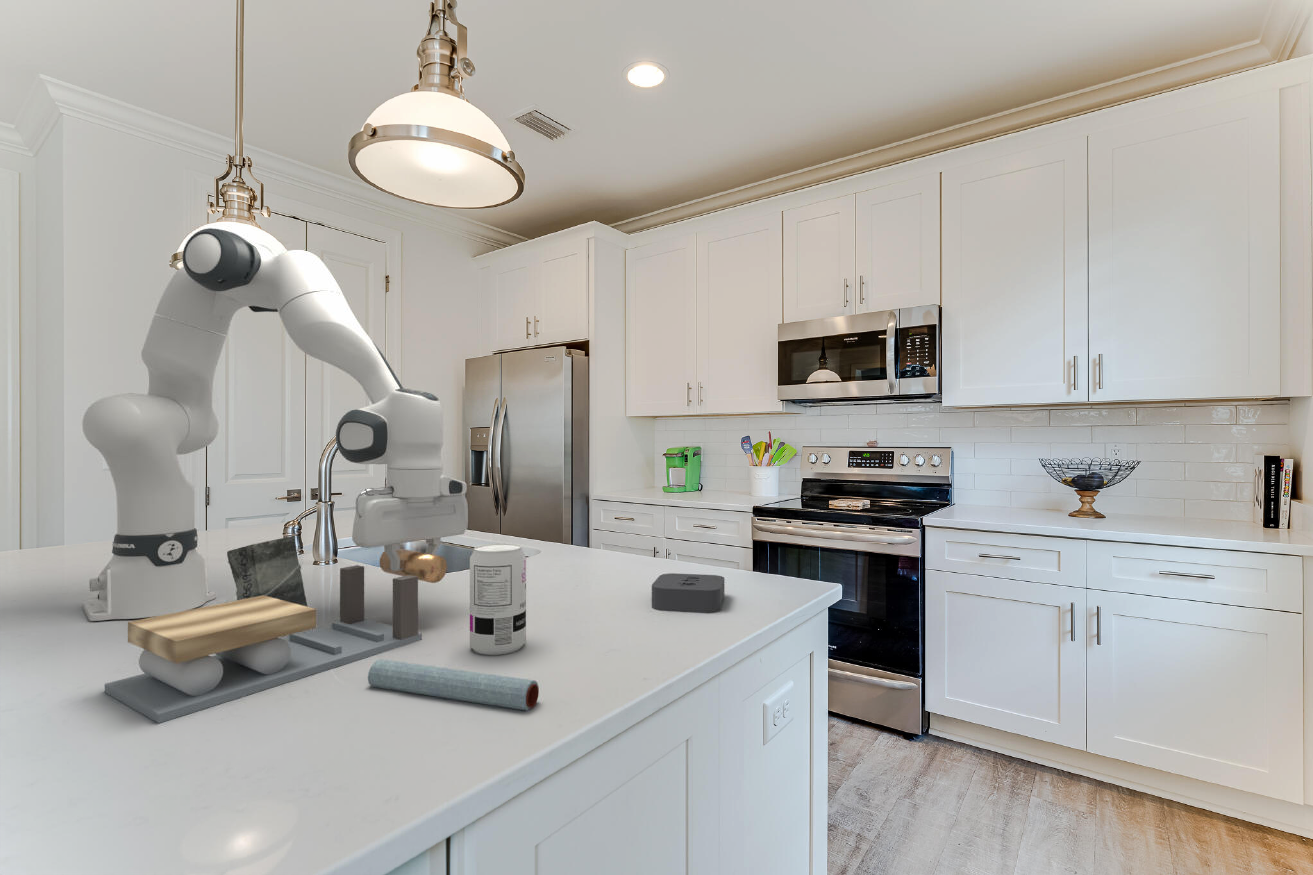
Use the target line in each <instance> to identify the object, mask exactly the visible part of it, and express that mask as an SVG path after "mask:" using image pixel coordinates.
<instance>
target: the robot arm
mask: <svg viewBox="0 0 1313 875" xmlns="http://www.w3.org/2000/svg"><path fill="white" fill-rule="evenodd" d="M181 256H182V258H181V259H182V265H183V266H182V267H180V268H179V269H178V270H177V271H175V274H174V275H173V276H172V278H171V279H170V281H169V283H168V284H167V286H166V288H165V289H164V291H163V293H162V296H161V298H160V299H159V302H158V305H157V306H156V309H155V311H154V314H153V317H152V320H151V322H150V323H151V324H150V327H149V329H148V333H147V335H146V337H145V340H144V344H143V347H142V348H141V349H142V350H141V353H140V354H141V360H142V362H143V363H144V365H145V366H146V368H147V369H146V370H147V371H148V391H147V394H142V393H133V392H132V393H131V392H130V393H121V394H116V395H111V396H107V397H105V396H104V397H102V398H100V399H98V400H95V401H94V402H93V403H92V404H91V405H89V407H88V408H87V409H86V411H85V412H84V415H83V419H82V425H81V426H82V431H83V434H84V436H85V438H86V440H87V442H89V444H90V445H92V447H93V448H95V449H96V450H98V452H100V454H101V455H102V457H103V458H104V460H105V462H106V465H107V467H108V469H109V471H110V474H111V477H112V481H113V484H114V487H115V495H116V518H117V523H116V525H117V526H116V527H117V533H116V534H114V538H113V541H112V550H111V553H112V554H113V555H112V558H111V559H110V560H109V562H108V563H107V564H106V565H105V567H104V568H103V569H102V570H101V572H100V573H99V575H98V576H97V577H95V578H90V579H89V592H98V593H97V597H94V598H90V599H86V600H84V601H83V602H82V609H83V610H84V613H85V615H86V617H87V618H88V621H90V622H98V621H99V622H101V621H107V620H109V621H110V620H130V619H134V620H135V619H146V618H151V617H156V616H161V615H166V614H171V613H176V612H181V611H186V610H191V609H197V608H200V607H201V606H203V605H204V604H205V603H206V602H208V601H212V600H215V599H216V598H217V596H216V592H214V591H209V589H208V588H209V586H208V575H207V563H206V558H205V556H203V555H202V554H201V553H199V552H198V551H197V550H196V548H198V540H199V535H198V529H196V528H195V489H194V486H193V484H192V483H191V482H190V481H189V480H187V478H186V476H185V475H184V473H183V471H182V469H181V465H180V462H179V460H178V459H179V458H178V456H179V455H180V456H181V455H186V454H190V453H193V452H197V451H200V450H202V449H204V448H206V447H208V446H209V445H210V444H212V443H213V442H214V441H215V439H216V438H217V436H218V433H219V420H218V417H217V415H216V413H215V412H214V409H213V387H214V386H213V385H214V377H215V372H216V369H217V366H218V363H219V359H220V357H221V354H222V350H223V347H224V344H225V341H226V338H227V335H228V332H229V329H230V325H231V322H232V320H233V317H234V315H235V313H236V312H238V311H239V310H241V309H243V308H246V307H248V308H249V309H250V311H252V312H253V313H264V312H266V313H267V312H269V313H271V312H272V313H278V315H279V317H280V320H281V322H282V324H283V327H284V329H285V332H287V335H288V337H289V338H290V339H291V340H292V341H293V343H294V344H295V345H296V347H297V348H298V349H299V350H301V351H302V352H303V353H305V354H306V355H308V356H310V357H312V358H314V359H316V360H319V361H322V362H324V363H327V364H329V365H331V366H333V367H334V368H335V367H336V368H337V369H340V370H342V371H343V372H345V373H346V374H348V375H349V376H351V377H352V378H353V379H355V381H356V382H357V383H359V384H360V386H361V387H362V389H363V390H364V392H365V395H366V396H367V397H368V399H369V401H370V403H371V404H370V405H368V406H365V407H361V408H357V409H352V410H350V411H348V412H345V414H344V415H343V416H342V417H341V418H340V420H339V421H338V423H337V426H336V431H335V443H336V446H337V450H338V452H339V453H340V454H341V456H342V457H343V458H344V459H345V460H346V461H347V462H351V463H355V464H358V465H386V479H385V480H386V482H385V483H386V486H384V487H383V486H382V487H377V488H374V487H368V488H365V489H364V490H363V491H361V492H360V493H359V494H358V495H357V496H356V498H355V515H354V518H353V525H352V535H351V538H352V542H353V544H354V545H355V546H357V547H359V548H364V549H365V548H366V549H371V548H378V547H384V551H385V552H386V554H387V555H388V557H389V559H390V560H391V566H390V568H391V570H392V571H400V570H404V568H405V566H404V564H405V560H404V559H400V557H399V555H398V553H397V551H396V550H400V549H401V548H400V546H401V544H405V543H413V542H420V541H425V543H426V544H428V545H427V547H426V549H425V551H424V553H427V554H432V555H436V553H437V552H438V549H439V547H440V546H441V538H447V537H455V536H462V535H464V534H465V533H466V530H467V529H468V525H469V509H468V501H467V498H466V496H464V495H465V494H466V493H467V490H468V488H467V486H468V485H467V483H466V482H465V481H462V480H459V479H456V478H454V477H450V476H447V475H445V474H444V473H443V469H444V468H443V467H444V466H443V462H442V458H441V453H442V447H443V445H444V414H443V409H442V408H443V407H442V404H441V402H440V399H439V398H438V397H437V395H434V394H432V393H431V392H430V393H429V392H426V391H421V390H414V389H408V388H404V387H403V385H402V384H401V383H400V381H399V378H398V377H397V376H396V374H395V372H394V370H393V369H392V367H391V366H390V364H389V362H388V360H387V359H386V358H385V356H384V354H383V353H382V351H381V350H380V349H379V347H378V346H377V345H376V343H375V342H374V341H373V340H372V339H371V338H370V336H369V335H368V334H367V332H366V331H365V330H364V328H363V327H362V325H361V324H360V323H359V321H358V320H357V318H356V316H355V315H354V314H355V313H353V311H352V309H351V308H350V305H349V304H348V302H347V299H346V297H345V295H344V294H343V292H342V289H341V288H340V286H339V284H338V282H337V281H336V279H335V278H334V276H333V274H332V273H331V271H330V270H329V269H328V267H327V266H326V264H325V263H324V262H323V261H322V260H321V259H320V258H319V256H317V255H316V254H314V253H312V252H310V251H306V250H302V249H291V250H287V251H284V252H281V253H278V252H276V251H274V250H272V249H271V248H269V247H268V246H265V245H264V244H259V243H257V242H254V241H252V240H249V239H247V238H244V237H241V236H240V235H238V234H236V233H235V232H232V231H228V230H225V229H221V228H220V229H219V228H211V227H210V228H209V227H208V228H204V229H201V230H198V231H197V232H195V233H193V234H192V236H190V237H189V238H188V240H187V241H186V243H185V245H184V248H183V251H182V255H181Z"/></svg>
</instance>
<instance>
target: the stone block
mask: <svg viewBox="0 0 1313 875" xmlns="http://www.w3.org/2000/svg"><path fill="white" fill-rule="evenodd" d="M226 553H227V554H226V556H227V560H228V561H227V562H228V564H229V567H230V570H231V574H232V577H233V580H234V583H235V587H236V592H235V596H236V601H237V600H242V599H247V598H252V597H257V596H262V595H264V596H268V597H272V598H276V599H279V600H283V601H287V602H291V603H295V604H298V605H302V606H306V607H308V603H307V598H306V592H305V587H304V582H303V575H302V571H301V570H302V565H301V564H300V562H299V557H298V552H297V547H296V540H295V536H294V535H293V536H287V537H281V538H277V539H276V538H275V539H272V540H267V541H263V542H258V543H257V542H256V543H252V544H249V545H245V546H241V547H238V548H233V549H231V550H227V551H226Z"/></svg>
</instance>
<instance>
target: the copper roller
mask: <svg viewBox="0 0 1313 875" xmlns="http://www.w3.org/2000/svg"><path fill="white" fill-rule="evenodd" d="M396 551H397V553H398V555H399V557H400V559H404V560H405V564H404V566H405V568H404V570H400V571H392V570H391V568H390V566H391V560H390V559H389V557H388V555H387V554H386V552H385V550H384V551H383V552H382V553H381V554H380V558H379V567H380V570H382V571H383V572H384V573H386V574H391V575H396V576H398V577H403V576H407V575H413V576H418V581H423V582H426V583H427V582H428V583H431V584H436V583H439V582H440V581H442V580H443V578H445V576H446V573H447V571H448V570H447V569H448V564H447V563H448V562H447V561H446V559H445V557H443V556H442V555H438V554H434V555H432V554H427V553H425V552H421V551H416V550H411V549H405V548H400V550H396Z"/></svg>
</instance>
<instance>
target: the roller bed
mask: <svg viewBox="0 0 1313 875" xmlns="http://www.w3.org/2000/svg"><path fill="white" fill-rule="evenodd" d="M422 639H423V634H422V633H421V632H419V580H418V576H413V575H407V576H398V577H394V578H392V625H391V624H386V623H383V622H378V621H376V620H375V621H374V620H371V619H369V618H365V566H363V565H358V564H357V565H353V566H352V565H351V566H345V567H341V568H339V621H338V620H337V621H334V622H331V625H328V626H324V627H320V628H317V629H316V628H315V629H311V630H309V631H308V630H307V631H303V632H297V633H293V634H289V635H287V636H285V637H282V638H281V637H278V638H274V639H270V640H266V641H262V642H258V643H254V644H250V645H246V646H242V647H238V648H235V649H231V650H227V651H223V652H219V653H215V654H214V655H207V656H203V657H199V658H195V659H191V660H187V661H184V662H180V663H174V662H172V661H170V660H167V659H165V658H163V657H161V656H158V655H156V654H154V653H152V652H149V651H147V650H145V649H142V652H141V653H140V656H139V657H138V658H139V659H138V666H139V668H140V671H141V672H143V673H142V674H137V675H134V676H130V677H127V678H122V679H118V680H114V681H110V682H107V683H104V692H105V693H106V695H107V694H108V695H109V696H111V697H113V698H114V699H116V700H118V701H120V702H121V703H123V704H124V705H126V706H128V707H130V708H132V709H133V710H135V711H136V712H138V713H140V714H142V715H143V716H146V717H147V718H149V719H151V720H152V721H154V722H156V723H158V724H160V723H164V722H167V721H170V720H174V719H178V718H179V717H183V716H186V715H189V714H192V713H195V712H199V711H202V710H205V709H209V708H212V707H215V706H216V705H221V704H224V703H227V702H231V701H234V700H237V699H240V698H243V697H246V696H249V695H252V694H255V693H258V692H259V693H260V692H262V691H265V690H269V689H272V688H275V687H278V686H281V685H284V684H287V683H290V682H294V681H297V680H300V679H302V678H306V677H309V676H313V675H316V674H319V673H322V672H325V671H329V670H331V669H335V668H337V667H340V666H344V665H347V664H350V663H351V664H352V663H353V662H357V661H360V660H363V659H366V658H369V657H373V656H375V655H378V654H382V653H384V652H385V653H386V652H388V651H389V652H390V651H392V650H393V649H398V648H400V647H403V646H406V645H410V644H412V643H416V642H419V641H422Z"/></svg>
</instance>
